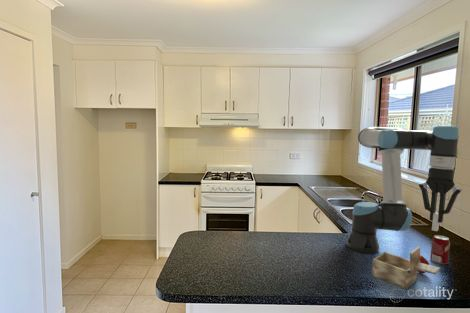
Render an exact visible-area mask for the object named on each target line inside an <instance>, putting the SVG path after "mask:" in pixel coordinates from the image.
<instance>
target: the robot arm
mask: <svg viewBox="0 0 470 313" xmlns="http://www.w3.org/2000/svg"><path fill="white" fill-rule="evenodd" d="M458 140H459V127H458V126H457V125H434V126H433V128H432V130H405V129H403V128H401V127H396V126H393V127H389V126H385V127H384V126H383V127H382V126H368V127H365V128H363V129H361V130H360V131H359V133H358V136H357V141H358V143H359V144H360V145H361V146H362V147H365V148H369V149H378V154H380V156H381V166H382V167H381V168H382V169H381V170H382V197H383V198H382V201H381V202H380V203H379V204H380V205H379V204H378V203H377V202H373V201H372V202H371V201H359V202H357V203H355V204H354V205H353V209H352V212H351V213H352V219H351V220H352V222H351V230H350V231H351V232H350V233H349V235H348V238H347V240H346V246H347V247H348V248H349V249H350V250H352V251H356V252H359V253H363V254H376V253H377V254H378V252H379V251H380V245H379V244H380V243H379V241H378V237H377V230H380V231H381V230H383V231H395V232H404V231H407V230H408V229H410V227H411V225H412V222H413V214H412V210H411V208H409V207H407V203H406V202H405V201H404V200H403V187H402V186H403V184H402V183H403V182H402V181H403V180H402V164H401V155H402V154H403V153H404V150H422V151H423V150H424V151H430V157H429V168H428V175H427V179H426V180H425V182H422V183H419V184H418V187H419V188H420V191H421V193H422V194H421V195H422V200H423V207H424V210H426V211H428V212H429V221H431V222H432V226H431V231H434V232H438V231H439V228H440V227H439V226H440V224H441V223H443V221H444V215H448V214H450V213H451V210H452V208H453V206H454V204H455V202H456V200H457V198H458V195H459V194H461V193H462V192H463V190H462V188H458V186H456V185H455V182H454V176H455V170H454V168H455V167H456V158H457V150H458V143H459V142H458ZM427 188H429V189H430V191H431V199H429V193H428V189H427ZM449 191H452V194H451V196H450V199H449V201H448V203H447V206H446V197H447V193H448V192H449ZM438 194H439V204H438V212H437V202H438V201H437V200H438ZM445 206H446V207H445Z"/></svg>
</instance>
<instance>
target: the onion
mask: <svg viewBox="0 0 470 313" xmlns="http://www.w3.org/2000/svg"><path fill="white" fill-rule="evenodd" d="M420 263H423V264H427V265H430V263H429V261H428V260H427V258H425V257H424V255H422V254H420ZM417 273H418V274H420V275H422V274H426V273H427V272H424V271H420V270H418V272H417Z"/></svg>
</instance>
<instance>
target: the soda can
mask: <svg viewBox="0 0 470 313" xmlns="http://www.w3.org/2000/svg"><path fill="white" fill-rule="evenodd" d="M450 248H451V242H450V239H449V237H447V236H444V235H440V234H435V235H433V238H432V239H431V249H430V258H429V260H430V261H432V262H433V263H435V264H438V265H447V264H449V256H450V250H451V249H450Z"/></svg>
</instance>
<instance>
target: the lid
mask: <svg viewBox="0 0 470 313" xmlns="http://www.w3.org/2000/svg"><path fill="white" fill-rule="evenodd" d="M420 256H421V247H420V246H417V247H416V248H415V249H414V250H412V251H411V252H410V253H409V260H410V271H411V272H412V271H413V270H414V269H416V270H420V271H424V272H426V273H429V274H432V275H437V274H438V272H439V271H441V267H439V266H434V265H430V264H429V265H427V264H423V263H420Z"/></svg>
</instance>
